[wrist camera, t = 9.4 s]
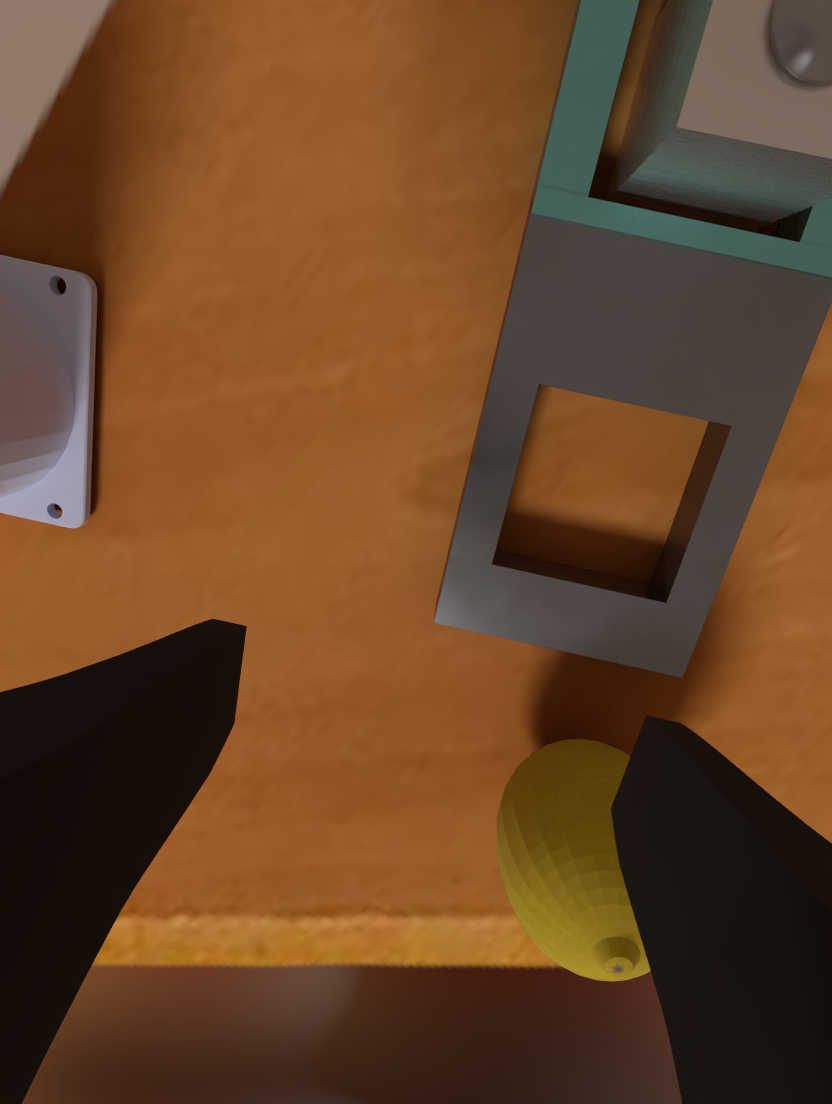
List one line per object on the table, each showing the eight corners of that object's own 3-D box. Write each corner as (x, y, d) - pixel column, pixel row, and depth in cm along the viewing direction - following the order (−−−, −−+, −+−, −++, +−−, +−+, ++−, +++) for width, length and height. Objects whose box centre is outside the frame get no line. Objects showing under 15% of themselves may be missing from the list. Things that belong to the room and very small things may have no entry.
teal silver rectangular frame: (436, 602, 21) (433, 623, 19) (615, -161, 14) (634, -225, 13) (666, 654, 21) (683, 679, 19) (950, -91, 14) (1011, -147, 13)
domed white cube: (605, 202, 17) (680, 122, 11) (651, 28, 16) (765, -169, 10) (748, 232, 17) (901, 168, 11) (807, 59, 15) (1016, -119, 10)
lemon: (558, 666, 21) (609, 840, 14) (678, 752, 22) (790, 964, 14) (461, 769, 23) (458, 976, 15) (575, 846, 24) (627, 1081, 16)
